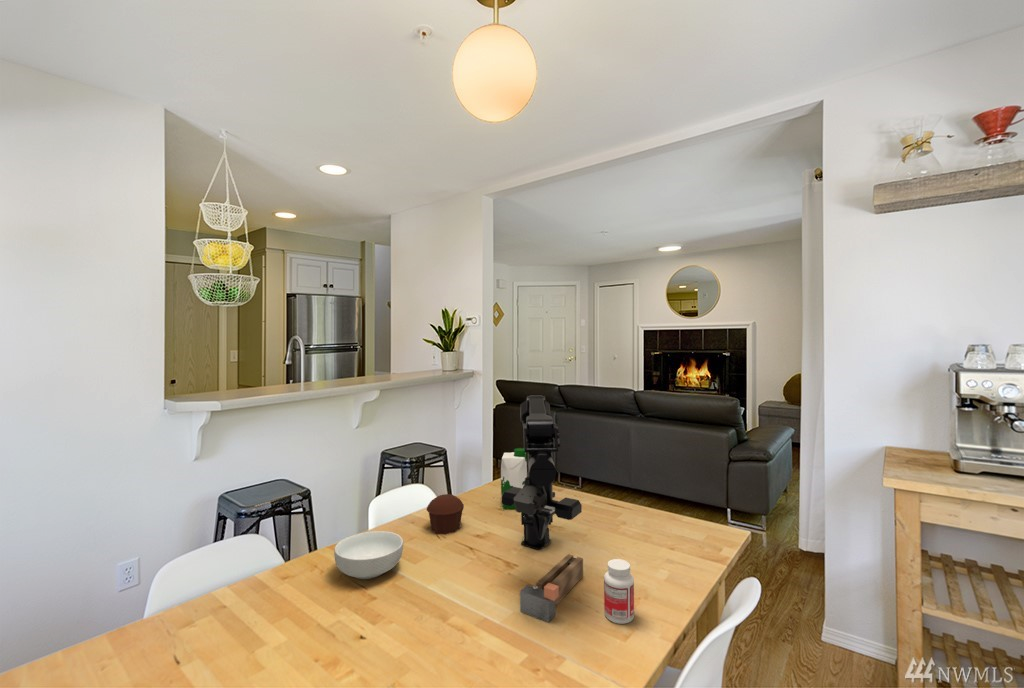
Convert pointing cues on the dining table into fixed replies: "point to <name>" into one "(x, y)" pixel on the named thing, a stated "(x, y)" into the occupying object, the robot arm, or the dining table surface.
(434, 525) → the muffin
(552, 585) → the tab
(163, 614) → the dining table surface
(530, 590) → the grey block
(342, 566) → the cereal bowl
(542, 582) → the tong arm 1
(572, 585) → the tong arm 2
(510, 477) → the milk carton
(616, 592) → the pill bottle
